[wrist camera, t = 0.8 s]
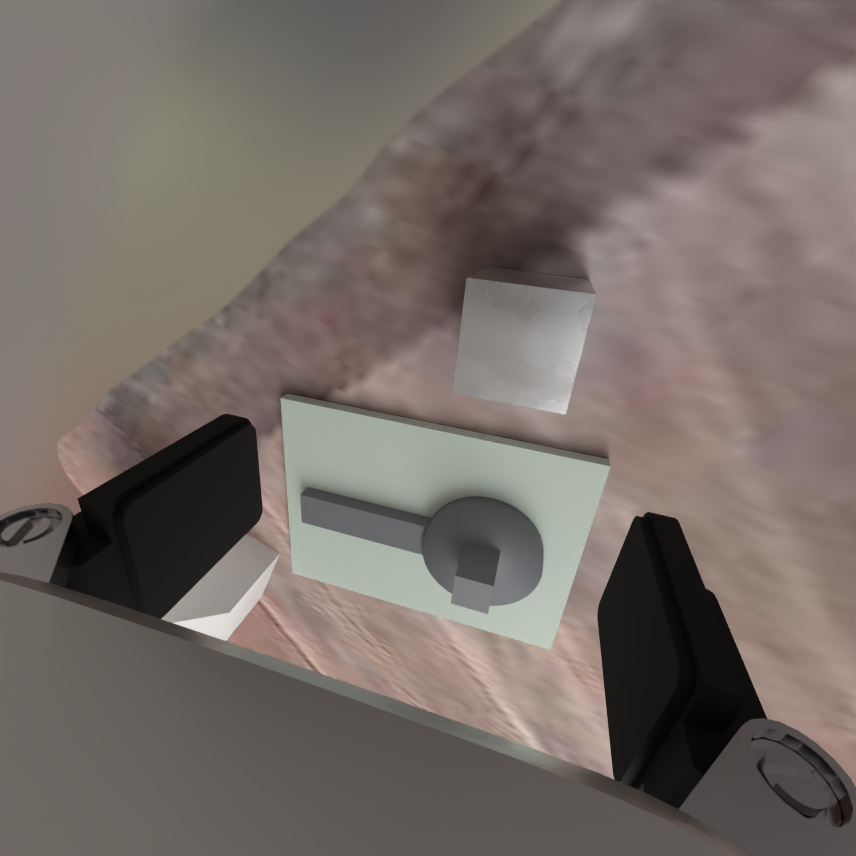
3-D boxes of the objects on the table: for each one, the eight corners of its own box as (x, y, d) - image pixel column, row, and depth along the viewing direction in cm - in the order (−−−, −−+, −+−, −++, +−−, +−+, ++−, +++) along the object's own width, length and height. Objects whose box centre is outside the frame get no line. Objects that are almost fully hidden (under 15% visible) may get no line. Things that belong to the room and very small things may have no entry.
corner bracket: (186, 469, 41) (55, 555, 30) (289, 531, 40) (193, 639, 30) (170, 541, 46) (55, 634, 35) (261, 596, 46) (172, 707, 35)
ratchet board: (609, 459, 29) (619, 512, 24) (550, 639, 37) (548, 709, 32) (287, 393, 34) (236, 425, 28) (298, 565, 42) (260, 615, 37)
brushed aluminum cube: (589, 279, 25) (596, 294, 20) (565, 378, 27) (565, 414, 22) (485, 266, 26) (466, 277, 21) (472, 362, 29) (452, 393, 23)
